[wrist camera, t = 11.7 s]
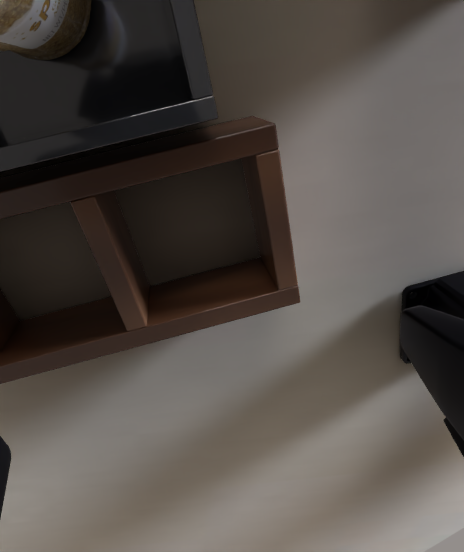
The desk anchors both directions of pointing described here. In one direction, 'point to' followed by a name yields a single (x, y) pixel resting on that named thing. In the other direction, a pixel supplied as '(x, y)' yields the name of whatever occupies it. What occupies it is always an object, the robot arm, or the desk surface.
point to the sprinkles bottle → (42, 26)
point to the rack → (125, 260)
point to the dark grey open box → (107, 83)
